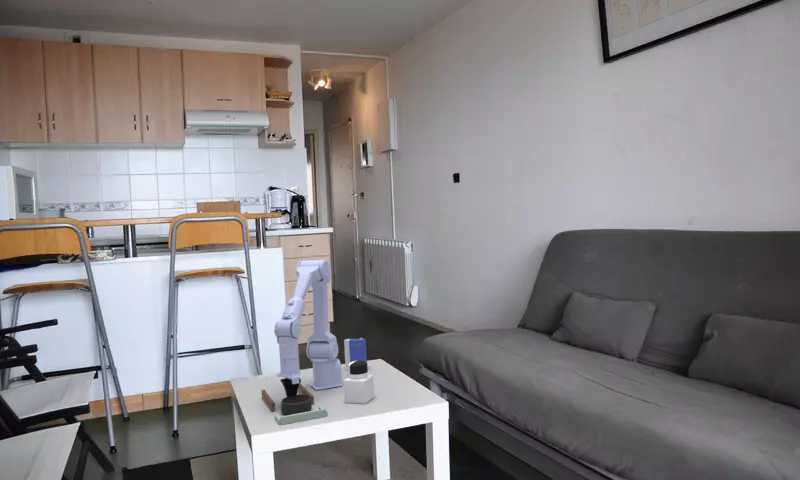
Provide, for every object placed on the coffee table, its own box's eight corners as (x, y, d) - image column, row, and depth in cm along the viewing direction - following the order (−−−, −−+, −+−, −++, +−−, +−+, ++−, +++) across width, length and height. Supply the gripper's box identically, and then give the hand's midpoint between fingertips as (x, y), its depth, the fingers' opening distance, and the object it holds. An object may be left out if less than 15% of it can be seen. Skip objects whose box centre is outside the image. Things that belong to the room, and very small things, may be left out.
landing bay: (321, 409, 168) (321, 403, 168) (328, 416, 162) (327, 409, 162) (274, 418, 162) (274, 411, 162) (279, 425, 156) (279, 418, 156)
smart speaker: (275, 415, 165) (274, 401, 165) (291, 406, 173) (291, 393, 173) (302, 417, 162) (301, 403, 162) (317, 407, 170) (316, 394, 170)
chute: (300, 391, 190) (300, 383, 189) (314, 404, 174) (313, 396, 174) (261, 397, 184) (261, 389, 184) (271, 411, 169) (271, 403, 169)
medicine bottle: (374, 397, 178) (372, 359, 178) (365, 404, 171) (363, 364, 171) (353, 396, 180) (351, 358, 180) (344, 403, 174) (342, 364, 173)
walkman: (367, 369, 215) (365, 337, 215) (365, 370, 212) (363, 339, 212) (347, 369, 217) (346, 338, 217) (345, 370, 214) (343, 339, 214)
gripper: (271, 355, 177) (274, 398, 178) (281, 364, 164) (283, 410, 164) (293, 352, 180) (296, 394, 180) (305, 360, 167) (307, 406, 167)
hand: (291, 402), depth 173 cm, fingers closed
